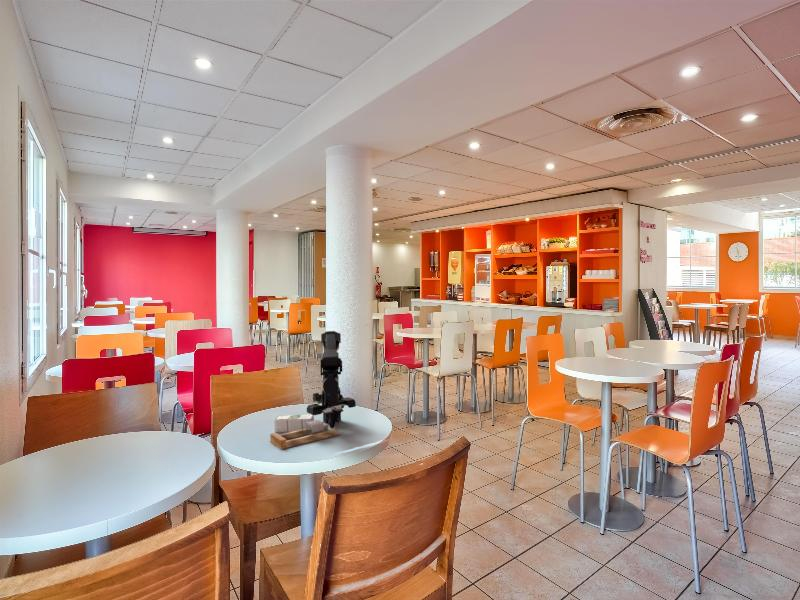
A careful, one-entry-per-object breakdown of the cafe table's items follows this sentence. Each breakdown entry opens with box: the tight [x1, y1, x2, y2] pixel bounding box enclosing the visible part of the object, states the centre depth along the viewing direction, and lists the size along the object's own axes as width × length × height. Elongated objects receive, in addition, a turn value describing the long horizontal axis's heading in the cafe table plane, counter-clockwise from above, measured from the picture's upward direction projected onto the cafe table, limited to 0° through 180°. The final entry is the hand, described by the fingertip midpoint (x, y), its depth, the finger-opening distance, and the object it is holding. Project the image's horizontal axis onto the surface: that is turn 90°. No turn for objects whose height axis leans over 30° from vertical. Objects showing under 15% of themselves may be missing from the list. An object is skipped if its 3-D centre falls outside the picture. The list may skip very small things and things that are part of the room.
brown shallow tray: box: [269, 423, 341, 451], centre depth 168 cm, size 23×12×4 cm, turn 128°
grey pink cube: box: [306, 419, 325, 436], centre depth 171 cm, size 5×5×5 cm
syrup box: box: [274, 414, 315, 433], centre depth 179 cm, size 6×6×14 cm
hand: (332, 428), depth 176 cm, fingers closed
